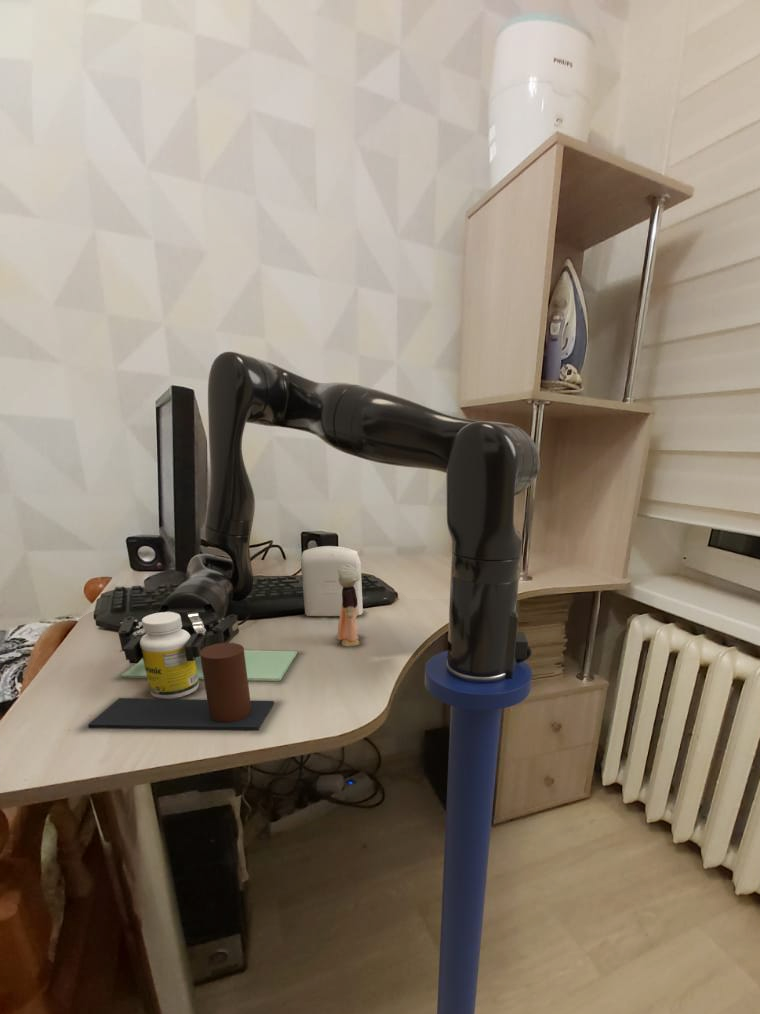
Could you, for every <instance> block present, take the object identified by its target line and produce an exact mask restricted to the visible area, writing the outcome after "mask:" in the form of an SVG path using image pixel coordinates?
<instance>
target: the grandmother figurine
mask: <svg viewBox="0 0 760 1014" xmlns="http://www.w3.org/2000/svg"><path fill="white" fill-rule="evenodd" d="M338 574H339V583H340V585H341V586H343V589H342V609H341V613H340V616H339V619H338V626H337V639H338V640H342V641H341V645H342V646H343V647H356V646H359V645H360V641H359V638H360V637H359V635H358V625H357V605H358V604H357V597H356V591H355V588H354V587H353V586H354V585H355V583H356V581H359V580H360V578H361V579H362V575H361V576H360V574H359V573H358V571H357V569H356V568H354V567H353V566H351V565H348V564H344V565H342V566H340V568H339V569H338Z"/></svg>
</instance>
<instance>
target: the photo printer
mask: <svg viewBox="0 0 760 1014" xmlns="http://www.w3.org/2000/svg"><path fill="white" fill-rule="evenodd" d="M361 562H362V561H361V559H360V557H359V553H358V551H357V550H354V549H351V548H348V547H343V546H336V545H324V546H316V547H311V548H308V549H305V550H303V551H302V554H301V559H300V568H301V569H300V571H301V583H302V595H303V605H304V614H305V615H306V616H307V617H340V613H341V609H342V589H343V586H341V585H340V583H339V574H338V569H339V568H340V566H342V565H344V564H348V565H351V566H353V567H354V568H356V569H357V571H358V573H359V574H360V576H361V578H360V580H359V581H356V583H355V585H354V586H353V587H354V588H355V591H356V597H357V604H358V605H357V616H361V615H362V614H363V613H364V608H363V586H362V585H363V584H362V564H361Z"/></svg>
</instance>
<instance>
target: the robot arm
mask: <svg viewBox="0 0 760 1014" xmlns="http://www.w3.org/2000/svg"><path fill="white" fill-rule="evenodd" d="M207 416H208V417H207V418H208V420H207V421H208V422H207V423H208V424H207V425H208V448H209V449H208V451H209V452H208V453H209V471H210V472H209V492H208V500H207V508H206V513H205V521H204V527H203V538H204V541H206V542H207V543H208V544H209V545H210V546H213V547H214V548H216V549H218V550H220V551H221V552H224V553H225V554H227V555H228V556H229V558H227V557H223V556H217V555H214V554H210V553H198V554H196V555H194V556H193V557H191V558H190V560H189V562H188V564H187V566H186V571H185V581H183V582H182V583H181V584H179V585H178V586H177V587H176V588H175V589H174V590H173V591H172V592H171V593H170V594H169V595H168V596H167V597H166V598H165V599H164V600H163V601H162V603H161V605H160V607H159V609H158V611H157V613H161V612H173V613H177V614H179V615H180V617H181V621H182V628H181V629H183V630H185V631H187V632H188V633H189V634H190V636H191V637H190V638H189V640H188V641H187V643H186V644H185V653H186V659H187V661H195V659H196V657H200V651H201V650H202V649H203V648H205V647H207V646H210V645H214V644H219V643H231V641H232V640H233V639H234V638H235V637H236V636H237V635H238V634H239V633H240V629H239V620H238V615H237V614H228V615H227V612H228V608H229V606H230V605H231V603H232V601H233V602H241V601H243V600H245V599H246V598H248V596H249V595H250V594H251V593H252V590H253V587H254V577H253V576H254V573H253V568H252V562H251V554H250V553H251V551H250V543H251V542H250V541H251V533H252V528H253V522H254V517H255V511H256V510H255V509H256V499H255V492H254V488H253V485H252V482H251V479H250V477H249V474H248V471H247V468H246V465H245V460H244V455H243V436H244V432H245V427H246V423H247V424H252V425H253V424H254V425H260V426H265V427H266V426H267V427H278V428H285V429H292V430H298V431H302V432H306V433H310V434H312V435H315V437H317V438H319V439H320V440H322V441H323V442H324V443H325V444H327V445H328V446H330V447H331V448H333V449H335V450H337V451H340V452H341V453H345V454H347V455H349V456H353V457H356V458H358V459H359V458H360V459H363V460H366V461H369V462H374V463H379V464H384V465H390V466H395V467H397V466H398V467H402V468H403V467H404V468H414V469H425V470H431V471H438V472H442V473H445V474H446V475H445V477H446V478H445V479H446V481H445V483H446V493H445V494H446V524H447V529H448V532H449V535H450V539H451V560H450V563H451V564H450V585H449V586H450V588H449V608H448V609H449V610H448V611H449V612H448V633H447V641H446V647H447V651H448V653H447V665H446V668H447V671H448V673H449V674H450V675H452V676H453V677H455V678H457V679H460V680H463V681H466V682H472V683H493V682H498V681H501V680H504V679H512V678H513V668H514V659H516V660H515V661H516V662H517V663H518V664H519V663H521V662H523V661H524V662H525V661H527V660H528V659H529V658H530V657H531V655H532V648H531V647H530V646H529V642H528V639H527V637H526V634H525V631H518V624H519V614H518V612H517V604H518V603H517V602H518V594H519V593H518V592H519V581H520V571H521V559H522V551H523V536H522V534H521V532H520V531H519V530H517V528H516V525H515V520H514V519H515V518H514V517H515V515H514V514H515V497H516V496H517V495H519V494H521V493H523V492H525V491H526V490H527V489H528V488H529V487H530V486H532V484H533V483H534V482H535V480H536V478H537V477H538V475H539V471H540V467H541V458H540V453H539V449H538V446H537V445H536V443H535V441H534V440H533V439H532V437H531V436H530V435H529V434H528V433H527V432H526V430H524V429H523V428H521V427H519V426H518V425H514V424H512V423H507V422H500V421H485V420H474V419H468V418H462V417H458V416H453V415H449V414H446V413H443V412H440V411H437V410H435V409H433V408H430V407H428V406H425V405H422V404H420V403H417V402H415V401H412V400H410V399H406V398H403V397H401V396H398V395H395V394H391V393H389V392H385V391H383V390H379V389H374V388H371V387H367V386H363V385H361V384H360V385H359V384H354V383H349V382H317V381H314V380H311V379H309V378H306V377H303V376H302V375H298V374H297V373H293V372H291V371H289V370H287V369H285V368H283V367H280V366H279V365H277V364H274V363H272V362H270V361H267V360H263V359H259V358H257V357H253V356H250V355H246V354H243V353H239V352H237V351H231V350H229V351H223V352H222V353H220V354H219V355H217V356H216V357H215V359H214V360H213V362H212V364H211V366H210V370H209V374H208V382H207ZM225 616H226V617H225ZM117 633H118V639H119V643H120V647H121V651H122V652H124V655H125V660H126V661H128V662H129V664H130V665H131V664H137V663H138V662H139V661H141V660H142V659H143V656H142V652H141V648H140V640H141V638H142V637H143V636H144V635H145V634H147V633H145V632H144V629H143V624H142V621H139V620H138V619H136V617H135V616H127V617H124V618H123V619H122V622H121V624H120V626H119V629H118V631H117Z"/></svg>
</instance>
